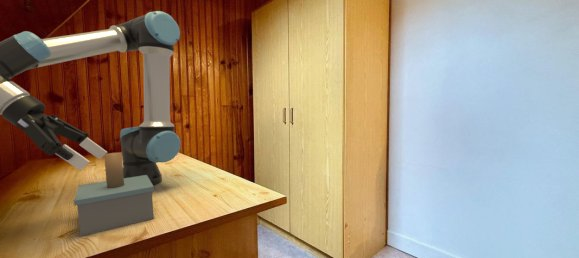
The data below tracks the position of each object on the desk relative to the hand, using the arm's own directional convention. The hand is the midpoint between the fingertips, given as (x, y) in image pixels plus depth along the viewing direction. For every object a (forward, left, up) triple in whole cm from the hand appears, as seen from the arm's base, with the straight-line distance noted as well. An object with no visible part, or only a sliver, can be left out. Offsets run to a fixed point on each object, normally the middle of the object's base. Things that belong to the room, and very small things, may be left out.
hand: (95, 160), depth 70 cm
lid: (0, +4, -9) cm, 10 cm away
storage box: (0, +4, -17) cm, 17 cm away
